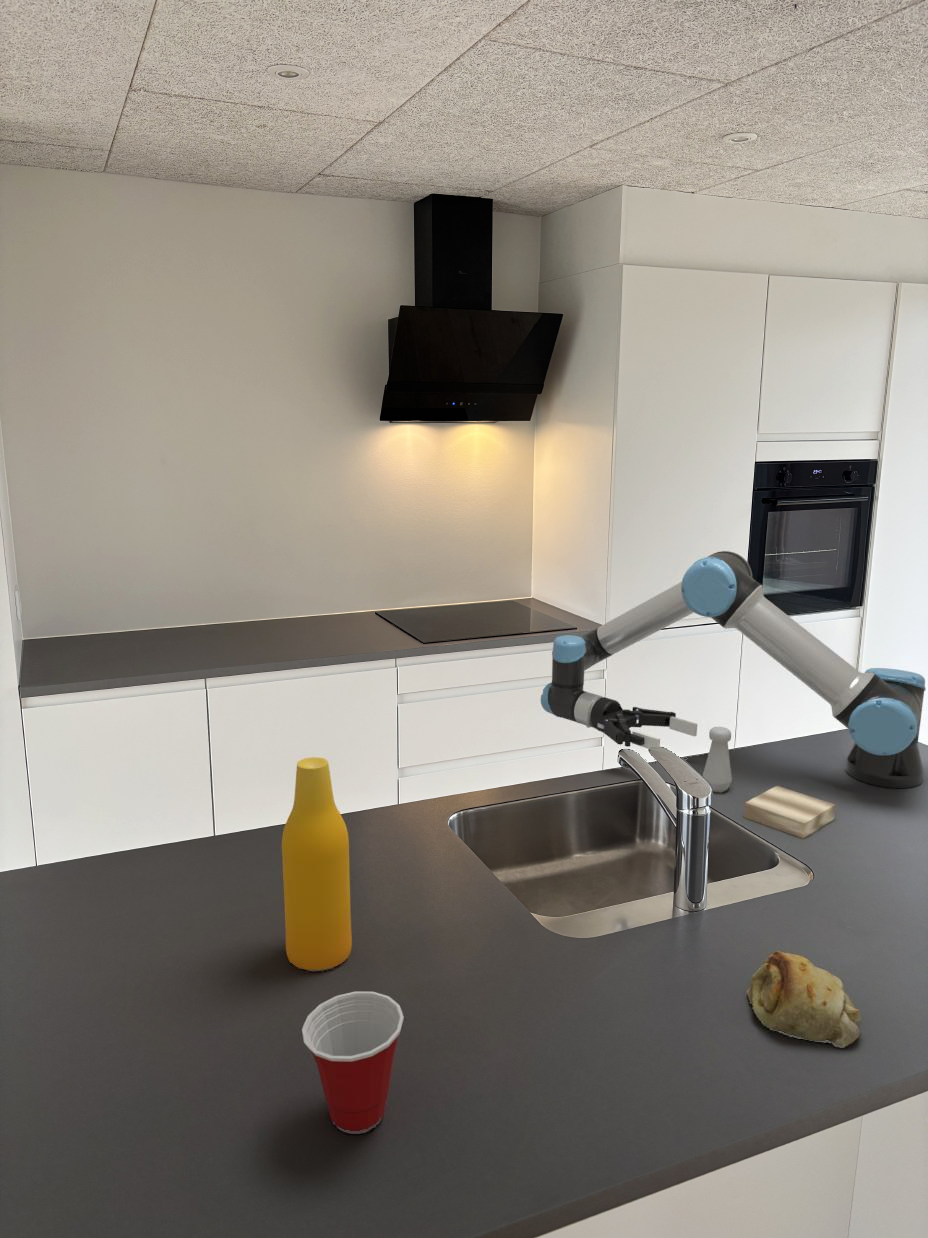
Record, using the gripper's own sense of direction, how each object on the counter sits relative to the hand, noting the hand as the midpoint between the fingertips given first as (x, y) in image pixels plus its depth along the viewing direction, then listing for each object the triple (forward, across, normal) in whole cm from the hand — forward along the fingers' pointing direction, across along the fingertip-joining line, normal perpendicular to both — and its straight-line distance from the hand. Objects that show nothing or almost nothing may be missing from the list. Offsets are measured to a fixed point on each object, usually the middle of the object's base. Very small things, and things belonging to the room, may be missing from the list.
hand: (678, 737), depth 190 cm
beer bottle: (+4, +93, -9) cm, 93 cm away
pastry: (+57, +55, -8) cm, 80 cm away
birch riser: (+27, +2, -8) cm, 28 cm away
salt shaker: (+10, 0, -8) cm, 13 cm away
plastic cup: (+32, +107, -9) cm, 112 cm away
